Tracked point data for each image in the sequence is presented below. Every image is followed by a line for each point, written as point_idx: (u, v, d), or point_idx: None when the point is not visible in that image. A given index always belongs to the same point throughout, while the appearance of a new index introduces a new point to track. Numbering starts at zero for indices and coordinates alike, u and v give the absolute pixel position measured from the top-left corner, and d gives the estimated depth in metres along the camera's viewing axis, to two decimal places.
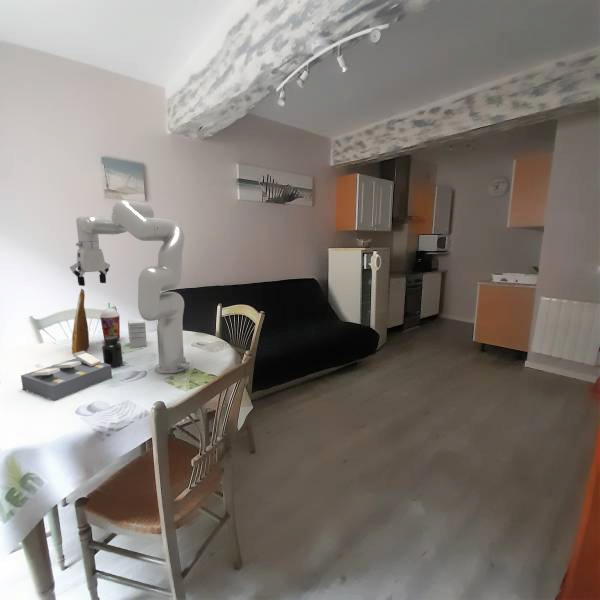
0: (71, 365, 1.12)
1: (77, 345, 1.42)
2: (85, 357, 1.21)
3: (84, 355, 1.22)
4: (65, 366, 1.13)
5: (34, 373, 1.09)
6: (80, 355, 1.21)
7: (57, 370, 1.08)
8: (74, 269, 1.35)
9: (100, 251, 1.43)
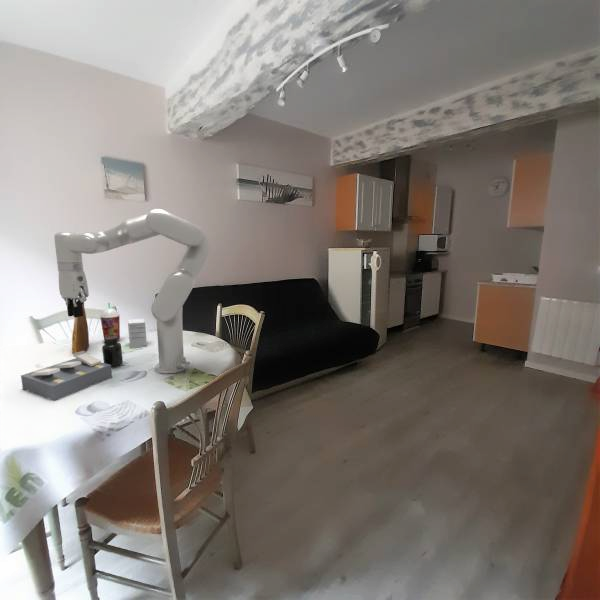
0: (71, 365, 1.12)
1: (77, 345, 1.42)
2: (85, 357, 1.21)
3: (84, 355, 1.22)
4: (65, 366, 1.13)
5: (34, 373, 1.09)
6: (80, 355, 1.21)
7: (57, 370, 1.08)
8: None
9: None
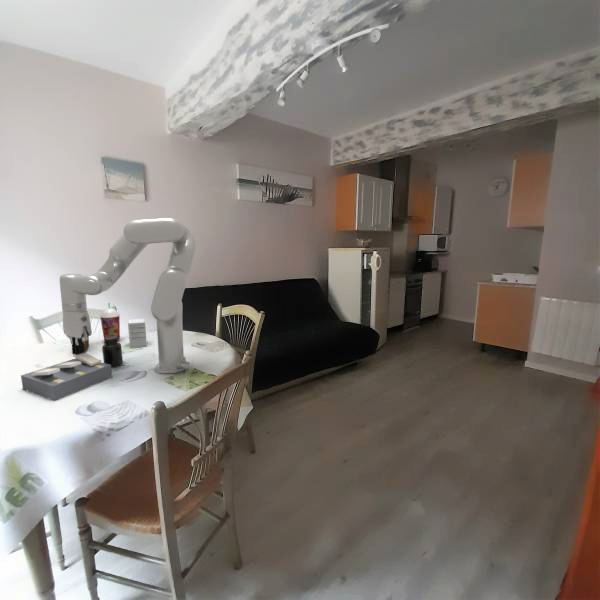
0: (71, 365, 1.12)
1: None
2: (85, 357, 1.21)
3: (84, 355, 1.22)
4: (65, 366, 1.13)
5: (34, 373, 1.09)
6: (80, 355, 1.21)
7: (57, 370, 1.08)
8: None
9: None
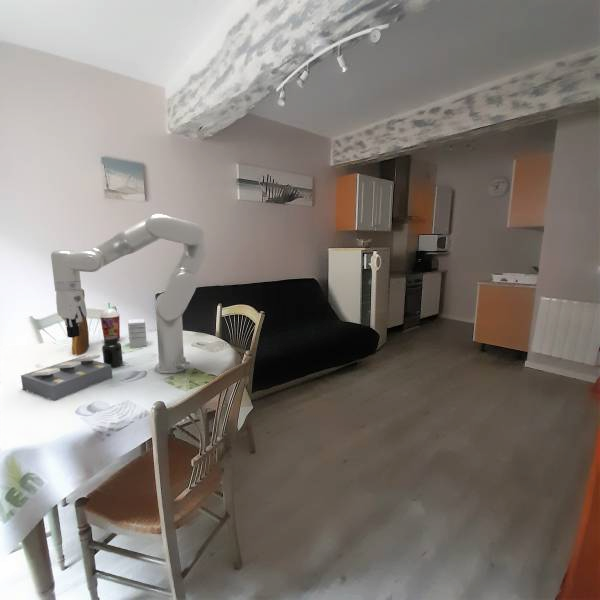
0: (71, 365, 1.12)
1: (77, 345, 1.42)
2: (85, 357, 1.21)
3: (84, 357, 1.22)
4: (65, 366, 1.13)
5: (34, 373, 1.09)
6: (80, 358, 1.22)
7: (57, 370, 1.08)
8: None
9: None
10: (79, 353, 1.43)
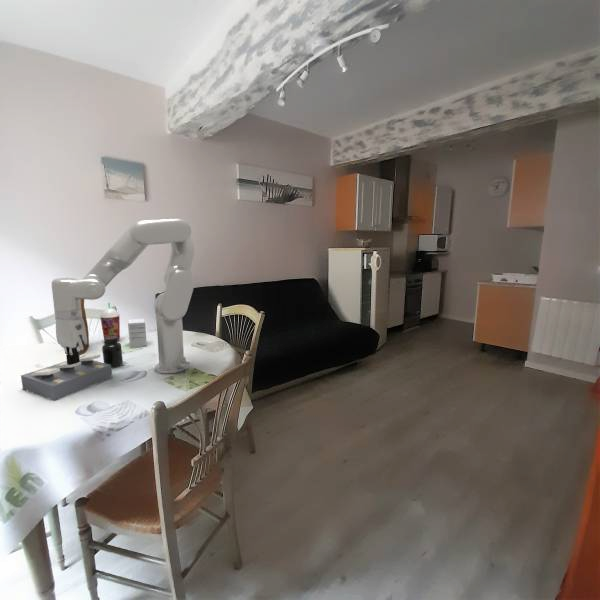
0: (71, 365, 1.12)
1: None
2: (85, 357, 1.21)
3: (84, 357, 1.22)
4: (65, 366, 1.13)
5: (34, 373, 1.09)
6: (80, 358, 1.22)
7: (57, 370, 1.08)
8: None
9: None
10: (79, 353, 1.43)
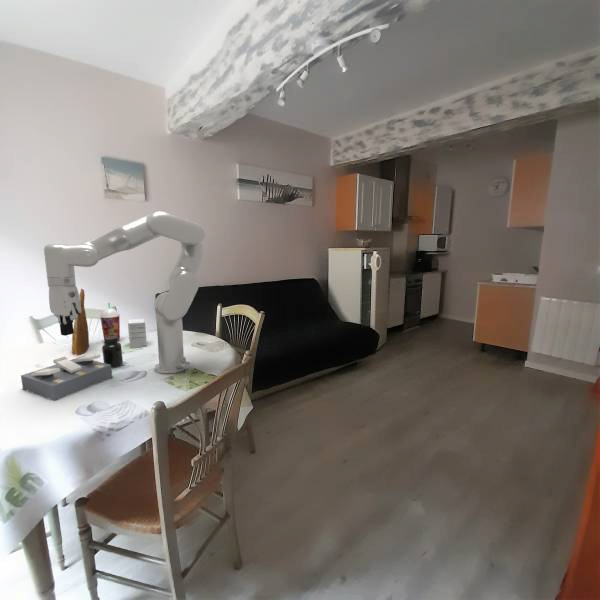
0: (72, 371, 1.12)
1: (77, 345, 1.42)
2: (85, 357, 1.21)
3: (84, 357, 1.22)
4: (65, 368, 1.13)
5: (34, 373, 1.09)
6: (80, 358, 1.22)
7: (57, 370, 1.08)
8: None
9: None
10: (79, 353, 1.43)
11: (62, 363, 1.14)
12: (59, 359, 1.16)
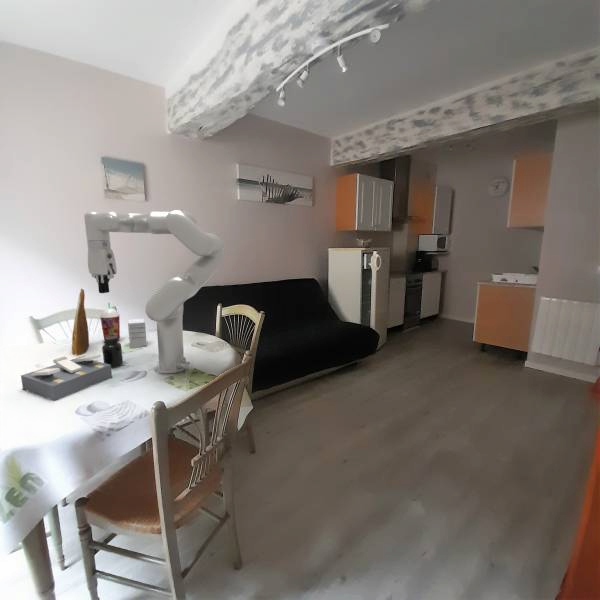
0: (72, 371, 1.12)
1: (77, 345, 1.42)
2: (85, 357, 1.21)
3: (84, 357, 1.22)
4: (65, 368, 1.13)
5: (34, 373, 1.09)
6: (80, 358, 1.22)
7: (57, 370, 1.08)
8: None
9: None
10: (79, 353, 1.43)
11: (62, 363, 1.14)
12: (59, 359, 1.16)
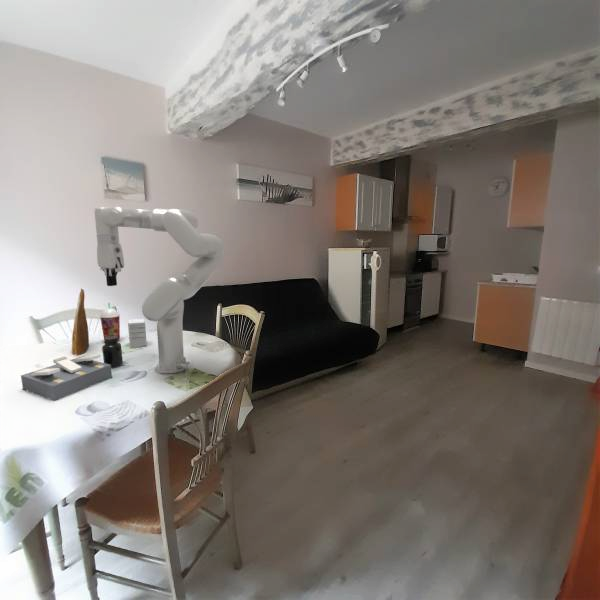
0: (72, 371, 1.12)
1: (77, 345, 1.42)
2: (85, 357, 1.21)
3: (84, 357, 1.22)
4: (65, 368, 1.13)
5: (34, 373, 1.09)
6: (80, 358, 1.22)
7: (57, 370, 1.08)
8: None
9: None
10: (79, 353, 1.43)
11: (62, 363, 1.14)
12: (59, 359, 1.16)
